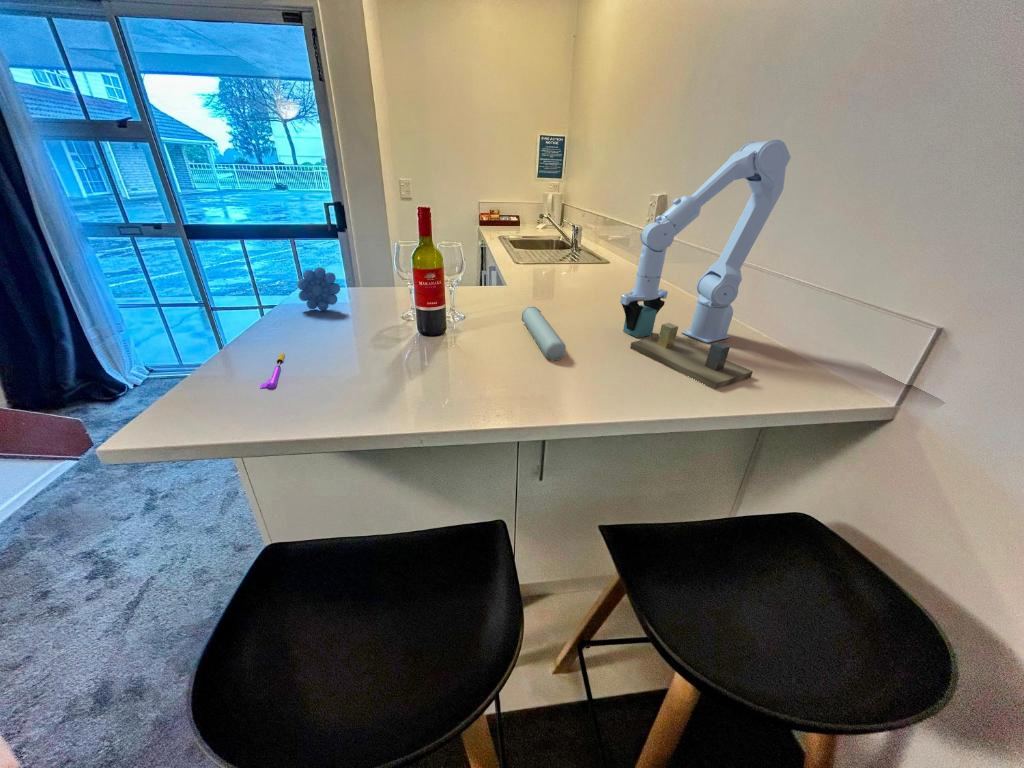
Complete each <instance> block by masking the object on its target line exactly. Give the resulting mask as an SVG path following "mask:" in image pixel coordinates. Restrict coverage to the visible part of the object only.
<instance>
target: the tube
mask: <svg viewBox="0 0 1024 768" xmlns="http://www.w3.org/2000/svg"><path fill="white" fill-rule="evenodd" d="M521 321H522V322H523V323H524V325H525V327H526V328H527V329H528V331H529V333H530V334H531V336H532V338H533V339H534V341H535V343H536V344H537V346H538V347H539V349H540V351H541V353H542V354H543V356H544V357H546V358H547V359H548V360H551V361H556V360H558V361H559V360H560V359H562V358H563V357H564V356H565V354H566V348H567V347H566V343H565V342H564V341H563V340H562V339H561V338H560V336H559V335H558V334H557V332H556V331H555V329H554V328H553V326H552V325H551V324H550V323H549V322H548V320H547V319H546V318H545V316H544V315H543V314H542V311H541V310H540V309H539V308H537V307H536V306H531V305H530V306H526V307H525V308H524V309H523V311H522V312H521Z"/></svg>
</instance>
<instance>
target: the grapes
mask: <svg viewBox="0 0 1024 768" xmlns="http://www.w3.org/2000/svg"><path fill="white" fill-rule="evenodd" d="M302 277H303V278H300V279H298V281H297V283H296V284H297V285H296V287H297V288H298V289H299V290H300V292H299V293H298V298H299V300H300V301H302V302H306V307H307V308H308V309H310V310H315V309H319V310H320V311H324V312H325V311H327V309H329V306H333V305H336V303H337V302H338V297H337V294H339V293H340V291H341V286H340V284H339V283H337V282H335V281H336V275H335V273H333V272H330V271H328V272H326V270H325V268H324V267H322V266H317V267H315V269H314V270H312V269H306V270H305V271H304V272H303V273H302Z"/></svg>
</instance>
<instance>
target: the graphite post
mask: <svg viewBox="0 0 1024 768" xmlns="http://www.w3.org/2000/svg"><path fill="white" fill-rule="evenodd" d="M730 348H731V346H729V345H727V344H724V343H722V342H721V341H720V342H719V341H718V342H715V343H711V344H710V347H709V351H708V357H707V360H706V363H705V366H706V367H708V368H710V369H712V370H714V371H717V370H720V369H723V368H724V365H725V362H726V360H728V359H727V357H728V355H729V353H730Z"/></svg>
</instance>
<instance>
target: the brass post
mask: <svg viewBox="0 0 1024 768" xmlns="http://www.w3.org/2000/svg"><path fill="white" fill-rule="evenodd" d="M678 330H679V326H678V325H676V324H673V323H671V322H667V323H663V324H661V326H660V329H659V334H658V336H659V339H658V343H657V345H659V346H661V347H664V348H670V347H673V346H674V342H675V339H677V338H676V337H677V334H678Z"/></svg>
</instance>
